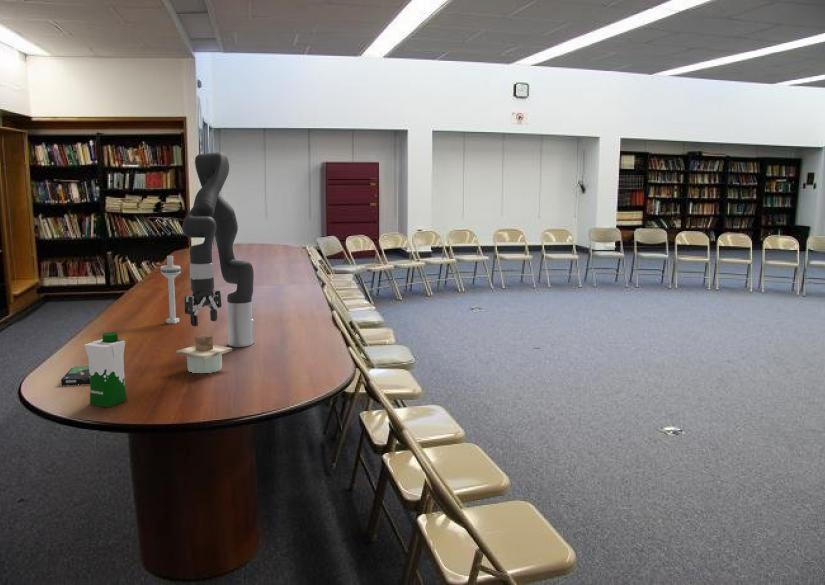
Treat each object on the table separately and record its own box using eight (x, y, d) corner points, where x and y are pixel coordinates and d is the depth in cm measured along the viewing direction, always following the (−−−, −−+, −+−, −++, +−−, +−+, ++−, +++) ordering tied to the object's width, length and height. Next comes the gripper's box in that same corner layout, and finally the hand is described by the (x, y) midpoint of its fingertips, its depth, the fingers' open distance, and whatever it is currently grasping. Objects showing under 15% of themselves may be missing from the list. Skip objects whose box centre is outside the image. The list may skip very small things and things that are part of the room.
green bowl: (205, 363, 236) (204, 346, 235) (228, 367, 230) (227, 351, 229) (180, 370, 226) (180, 353, 225) (204, 375, 221) (203, 358, 220)
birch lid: (205, 345, 236) (204, 330, 235) (232, 350, 230) (231, 335, 229) (175, 353, 225) (175, 337, 224) (203, 359, 219) (203, 343, 218)
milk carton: (131, 399, 196) (128, 333, 193) (108, 409, 188) (103, 340, 185) (108, 395, 199) (104, 330, 196) (84, 405, 191) (79, 337, 188)
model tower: (185, 320, 303) (183, 255, 298) (177, 324, 295) (174, 257, 289) (168, 320, 303) (165, 254, 298) (159, 323, 295) (156, 256, 290)
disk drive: (97, 386, 210) (106, 372, 225) (96, 377, 210) (105, 364, 224) (61, 387, 208) (72, 373, 222) (60, 379, 207) (72, 365, 222)
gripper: (209, 272, 230) (211, 318, 233) (177, 278, 218) (180, 326, 221) (225, 274, 227) (227, 320, 230) (193, 280, 215) (196, 329, 218)
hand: (204, 323), depth 225 cm, fingers open, 8 cm apart
